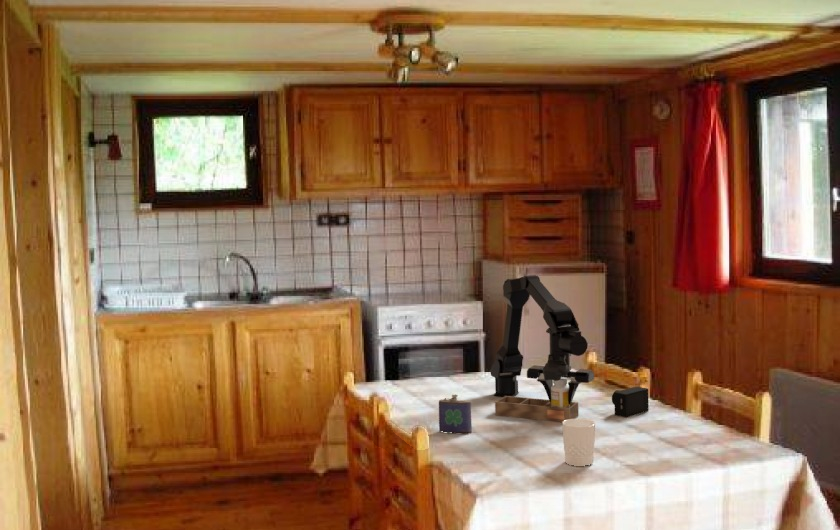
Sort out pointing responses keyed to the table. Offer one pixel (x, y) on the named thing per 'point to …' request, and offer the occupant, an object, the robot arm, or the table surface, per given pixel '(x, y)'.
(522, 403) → the bottle rack
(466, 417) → the flask
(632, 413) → the digital camera
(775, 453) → the table surface
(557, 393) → the supplement bottle
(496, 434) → the table surface
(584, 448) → the white cup
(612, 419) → the table surface
